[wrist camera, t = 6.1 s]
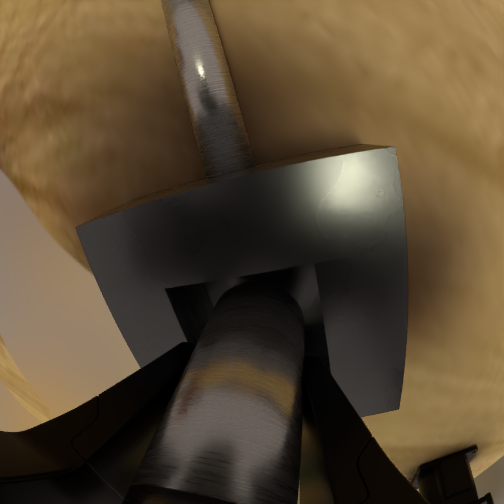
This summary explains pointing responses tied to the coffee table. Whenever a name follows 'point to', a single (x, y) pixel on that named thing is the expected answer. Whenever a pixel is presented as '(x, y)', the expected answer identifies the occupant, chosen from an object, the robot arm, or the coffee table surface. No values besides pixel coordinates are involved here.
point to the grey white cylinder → (233, 409)
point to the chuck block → (261, 236)
